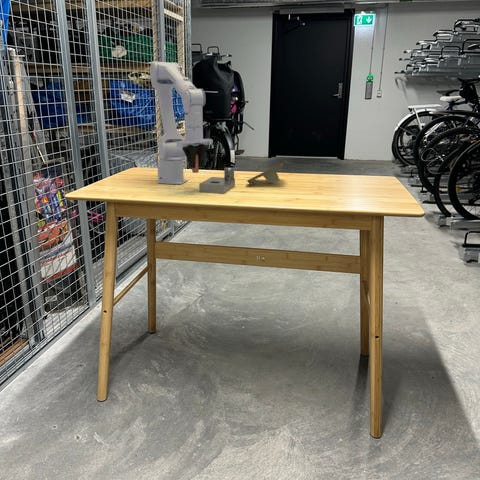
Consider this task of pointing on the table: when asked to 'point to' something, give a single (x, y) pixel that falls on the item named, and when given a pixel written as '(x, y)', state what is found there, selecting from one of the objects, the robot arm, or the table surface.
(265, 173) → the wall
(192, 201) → the table surface
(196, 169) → the cylindrical pin
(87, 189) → the table surface
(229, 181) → the silver box with hole
